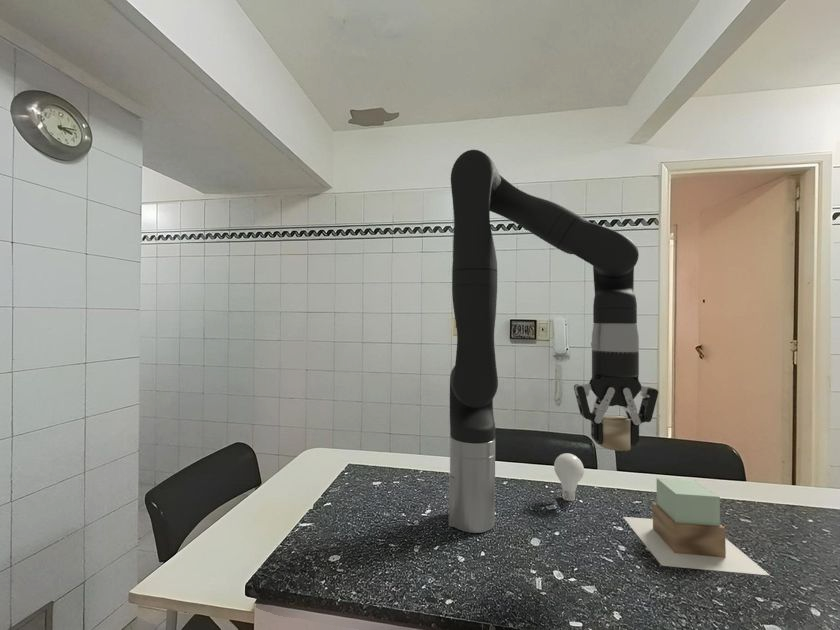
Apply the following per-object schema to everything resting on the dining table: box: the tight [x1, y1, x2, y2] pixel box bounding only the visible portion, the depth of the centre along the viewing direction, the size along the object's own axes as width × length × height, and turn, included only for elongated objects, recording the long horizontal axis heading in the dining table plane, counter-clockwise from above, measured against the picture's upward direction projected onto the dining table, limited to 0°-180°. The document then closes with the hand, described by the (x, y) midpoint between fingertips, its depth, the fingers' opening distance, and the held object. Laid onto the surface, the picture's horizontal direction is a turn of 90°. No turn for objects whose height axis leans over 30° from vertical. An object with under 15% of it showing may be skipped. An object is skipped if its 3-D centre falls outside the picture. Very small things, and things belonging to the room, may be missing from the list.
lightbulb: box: [553, 452, 585, 502], centre depth 86 cm, size 6×6×11 cm
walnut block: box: [652, 502, 726, 558], centre depth 69 cm, size 8×8×5 cm
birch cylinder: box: [598, 414, 632, 452], centre depth 67 cm, size 5×5×5 cm
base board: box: [622, 516, 771, 576], centre depth 69 cm, size 16×16×1 cm
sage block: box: [656, 477, 721, 526], centre depth 69 cm, size 7×7×5 cm
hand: (614, 443), depth 67 cm, fingers closed on birch cylinder, 5 cm apart
